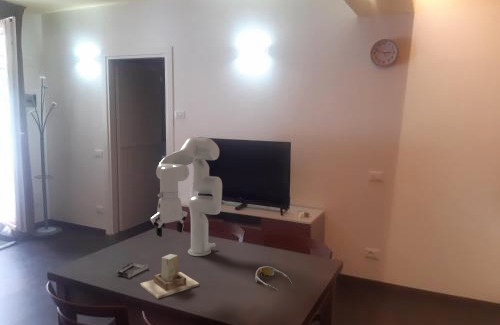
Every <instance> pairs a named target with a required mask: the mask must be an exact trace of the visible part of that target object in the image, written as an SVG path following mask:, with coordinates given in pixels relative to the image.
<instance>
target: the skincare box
mask: <svg viewBox="0 0 500 325" xmlns="http://www.w3.org/2000/svg"><path fill="white" fill-rule="evenodd" d="M178 261H179V260H178V254H172V253H169V254H167V255H164V256H162V257H161V273H160V274H161V279H163V280H164V281H166V282H170V281H174V280H177V273H178V272H179V271H178V270H179V269H178V268H179V267H178V263H179V262H178Z"/></svg>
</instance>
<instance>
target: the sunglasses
mask: <svg viewBox="0 0 500 325" xmlns="http://www.w3.org/2000/svg"><path fill="white" fill-rule="evenodd" d="M275 272H276V273H280V274H281V275H283V276H284V277H286V279H287V280H288V282H289V283H290V282H291V283H292V281H291V279H290V278H289V276H288V275H287V274H285V272H284V273H283V271H281V270H278V269H276V268H275V267H273V266H269V265H267V266H266V265H264V266H261V267H258V269H257V270H256V272H255V283H258V281H259V282H261V283H262V284H264V285H265V286H267V287H269V288H271V289H272V290H274V289H276V290H275V291H278V288H275V287H274V286H272V285H270V284H269V283H266V282H264V281H263V280H262V279H261V278H262V277H266V276H265V275H269V276H274V274H275Z"/></svg>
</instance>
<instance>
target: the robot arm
mask: <svg viewBox="0 0 500 325" xmlns="http://www.w3.org/2000/svg"><path fill="white" fill-rule="evenodd" d="M219 157H220V148H219V146H218V144H217V143H216V142H215V141H214V140H213V139H211V138H210V137H209V138H208V137H189V138H187V139H186V140H185V142H184V143H183V144H182V146H181V147H180V149H179V150H177V151H174V152H172V153H171V154H168V155H166V156H165V157H163V159H161V161H160V162H159V163H158V165H157V167H156V170H155V171H156V172H155V174H156V177H157V178H158V180H159V188H160V189H159V190H160V191H159V193H158V194H157V197H158V198H159V199H158V203H157V210H156V212H157V213H155V214H154V215H152V217H151V216H150V219H149V220H150V222H151V223H152V225H154V227H156V228H155V229H156V230H155V232H156V235H157V236H158V237H160V238H162V237H163V228H162V226H163V224H168V223H173V222H176V231H177V232H178V233H182V232H183V224H184V222H185V220H186V217H187V216H188V212H187V211H185V210H183V206H182V200H181V197H179V182H183V181H185V180H187V179H188V177H189V176H190V169H189V165H191V164H192V166H193V176H192V190H193V192H194V193H196V194H203V195H194V196H192V197H191V198H190V199H189V200H188V209H189V212H190V213H189V214H190V215H189V216H190V248H189V249H188V250H187V254H188V255H190V256H193V257H194V256H195V257H203V256H208V255H210V254H211V253H212V249H211V248H214V247H216V243H215V242H212V243H211V242H209V220H208V217H207V215H218V214H220V212H221V210H222V199H223V182H222V179H221V178H220V177H219V176H213V175H212V176H211V175H210V166H209V163H208V162H207V161H215V160H218V159H219ZM205 194H207V196H206V195H205ZM208 194H209V195H212V196H209V195H208ZM156 220H157V221H156Z"/></svg>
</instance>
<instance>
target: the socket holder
mask: <svg viewBox="0 0 500 325" xmlns="http://www.w3.org/2000/svg"><path fill="white" fill-rule="evenodd" d="M152 277H153V279H151V280H150V279H149V280H147V281H143V282H140V286H141V287H142V288H143V289H144V290H146V292H147V293H149V294H150V295H152V296H153V297H154V298H156V299H157V300H159V299H161V298H164V297H167V296H171V295H174V294H177V293H180V292H183V291H186V290H189V289H193V288H195V287H198V286H200V283H199V282H198V281H196V280H194V279H193V278H191V277H189V276H188V275H186V274H185V273H183V272H182V271H180V272H179V271H178V272H177V280H174V281H170V282H166V281H164V280H163V279H161V273H158V274H154V275H153V276H152Z"/></svg>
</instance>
